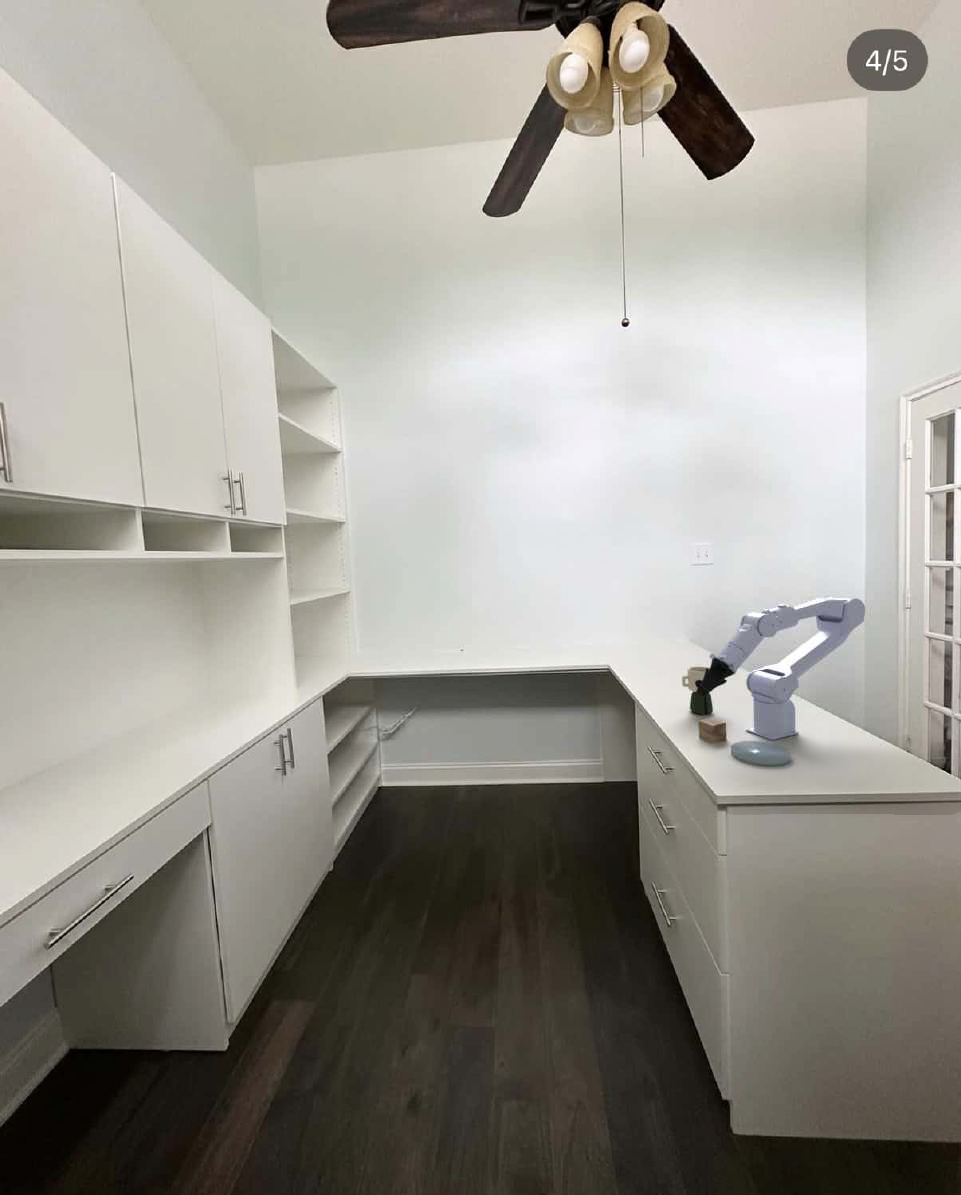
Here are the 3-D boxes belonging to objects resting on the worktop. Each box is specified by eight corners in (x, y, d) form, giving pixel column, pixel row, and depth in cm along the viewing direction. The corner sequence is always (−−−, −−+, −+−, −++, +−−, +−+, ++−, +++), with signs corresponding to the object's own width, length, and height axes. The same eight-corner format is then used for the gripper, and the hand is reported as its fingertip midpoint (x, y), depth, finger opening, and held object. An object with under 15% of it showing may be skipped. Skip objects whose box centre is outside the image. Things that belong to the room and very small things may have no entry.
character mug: (687, 717, 144) (686, 672, 143) (678, 709, 151) (677, 667, 150) (725, 715, 144) (725, 670, 143) (714, 707, 151) (713, 665, 150)
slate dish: (756, 742, 123) (756, 737, 123) (803, 759, 112) (803, 754, 112) (719, 751, 119) (719, 746, 119) (763, 770, 108) (763, 765, 108)
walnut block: (712, 734, 130) (712, 717, 130) (726, 740, 126) (726, 722, 126) (699, 737, 129) (698, 720, 128) (712, 743, 125) (712, 725, 124)
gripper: (716, 649, 133) (684, 686, 132) (728, 632, 120) (692, 673, 119) (740, 666, 130) (707, 704, 129) (755, 650, 117) (718, 693, 116)
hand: (701, 691), depth 123 cm, fingers open, 7 cm apart
